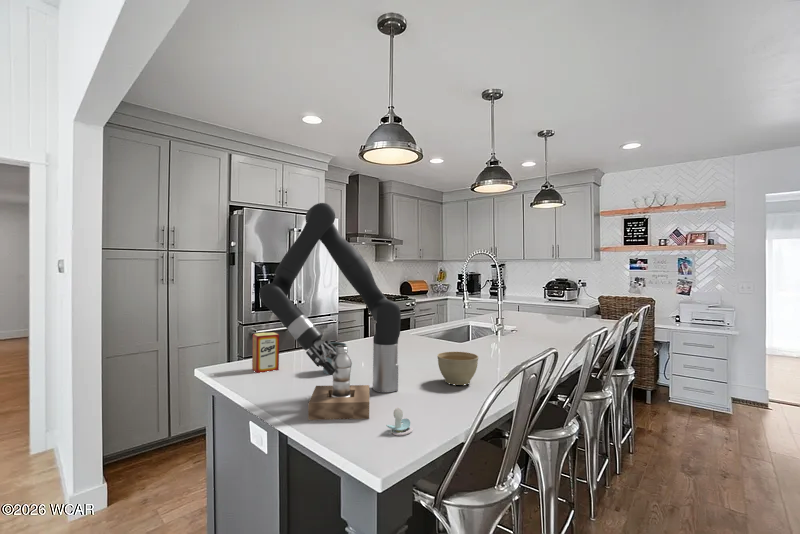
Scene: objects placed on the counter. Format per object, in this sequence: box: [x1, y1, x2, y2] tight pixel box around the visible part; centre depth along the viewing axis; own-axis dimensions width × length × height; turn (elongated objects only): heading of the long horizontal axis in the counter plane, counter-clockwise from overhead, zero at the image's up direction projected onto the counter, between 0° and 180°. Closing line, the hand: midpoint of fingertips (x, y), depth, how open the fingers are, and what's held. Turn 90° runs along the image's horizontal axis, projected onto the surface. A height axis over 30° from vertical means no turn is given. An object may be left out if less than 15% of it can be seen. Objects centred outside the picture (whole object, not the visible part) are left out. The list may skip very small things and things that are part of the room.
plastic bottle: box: [331, 345, 353, 397], centre depth 125 cm, size 6×7×20 cm
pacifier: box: [386, 407, 413, 437], centre depth 109 cm, size 7×6×6 cm
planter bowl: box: [437, 351, 479, 386], centre depth 155 cm, size 16×16×11 cm
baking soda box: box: [251, 332, 280, 374], centre depth 171 cm, size 10×6×16 cm
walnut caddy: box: [307, 384, 370, 421], centre depth 125 cm, size 18×17×5 cm
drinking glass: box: [322, 341, 347, 375], centre depth 169 cm, size 10×10×12 cm
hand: (338, 369), depth 125 cm, fingers open, 8 cm apart
